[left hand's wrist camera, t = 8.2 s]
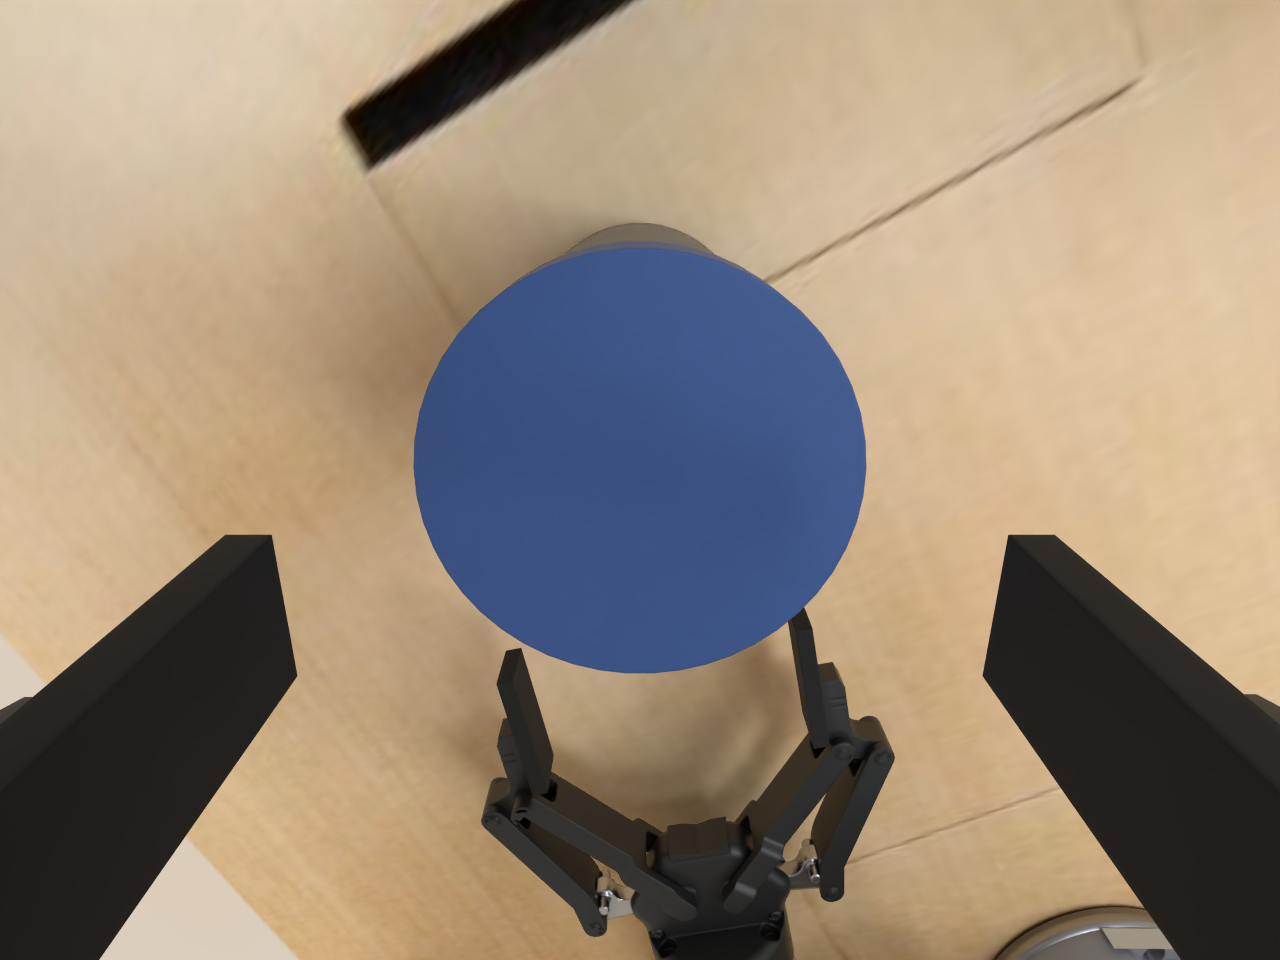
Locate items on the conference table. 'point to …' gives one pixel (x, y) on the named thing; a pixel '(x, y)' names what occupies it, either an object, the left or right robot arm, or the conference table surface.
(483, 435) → the lid
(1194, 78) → the conference table surface
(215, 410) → the conference table surface
